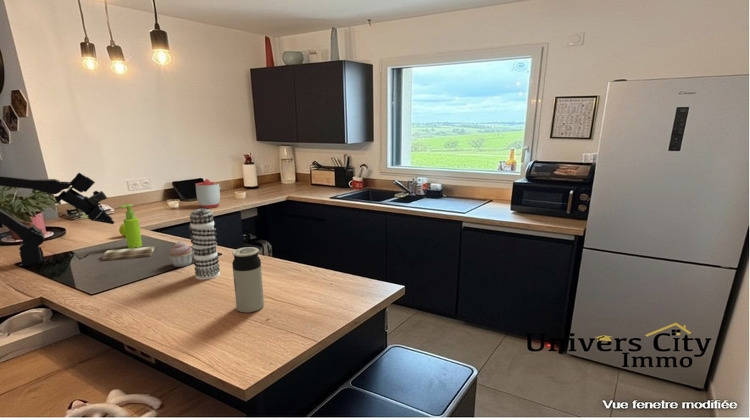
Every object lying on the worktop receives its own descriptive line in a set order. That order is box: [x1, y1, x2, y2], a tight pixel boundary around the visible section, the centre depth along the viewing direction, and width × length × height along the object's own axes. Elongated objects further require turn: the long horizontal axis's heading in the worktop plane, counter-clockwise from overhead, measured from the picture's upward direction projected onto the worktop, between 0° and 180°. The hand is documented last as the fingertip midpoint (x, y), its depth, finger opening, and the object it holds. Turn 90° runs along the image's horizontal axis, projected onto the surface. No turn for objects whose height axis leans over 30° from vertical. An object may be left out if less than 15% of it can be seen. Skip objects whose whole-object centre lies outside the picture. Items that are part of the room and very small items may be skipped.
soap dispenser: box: [118, 204, 143, 249], centre depth 175 cm, size 6×7×20 cm
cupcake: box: [168, 240, 194, 268], centre depth 151 cm, size 9×9×10 cm
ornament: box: [118, 223, 126, 238], centre depth 194 cm, size 7×7×10 cm
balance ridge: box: [101, 246, 157, 262], centre depth 165 cm, size 18×10×2 cm, turn 107°
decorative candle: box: [188, 208, 221, 281], centre depth 138 cm, size 9×9×25 cm
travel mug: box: [231, 246, 265, 314], centre depth 113 cm, size 8×8×18 cm
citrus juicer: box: [194, 178, 222, 209], centre depth 266 cm, size 16×17×20 cm
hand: (112, 221), depth 170 cm, fingers open, 9 cm apart
